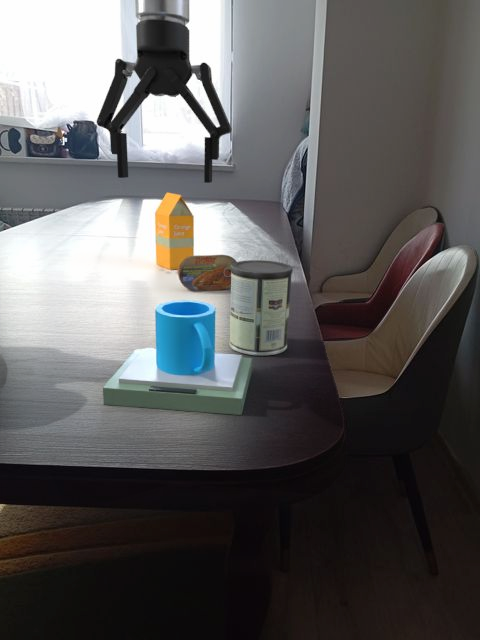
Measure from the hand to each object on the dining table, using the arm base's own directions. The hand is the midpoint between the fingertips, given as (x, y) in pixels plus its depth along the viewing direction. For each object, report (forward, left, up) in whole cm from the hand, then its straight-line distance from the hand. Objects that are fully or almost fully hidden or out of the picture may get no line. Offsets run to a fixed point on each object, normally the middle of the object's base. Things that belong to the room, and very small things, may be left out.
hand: (165, 180), depth 81 cm
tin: (+1, +37, -27) cm, 46 cm away
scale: (+7, -19, -27) cm, 33 cm away
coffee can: (+16, 0, -27) cm, 31 cm away
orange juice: (-13, +61, -27) cm, 68 cm away
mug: (+8, -19, -24) cm, 32 cm away
